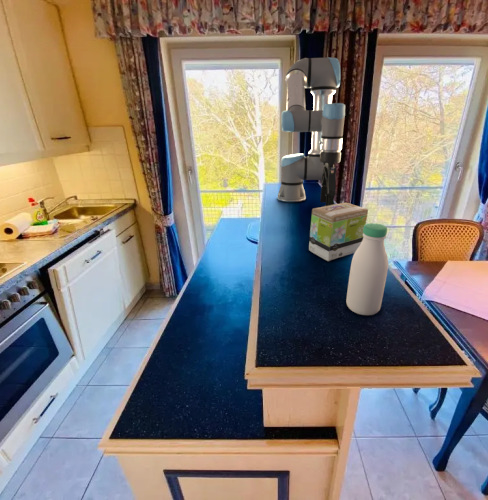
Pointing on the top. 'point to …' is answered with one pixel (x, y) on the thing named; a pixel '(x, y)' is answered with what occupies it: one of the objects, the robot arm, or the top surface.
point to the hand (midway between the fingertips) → (326, 207)
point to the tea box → (336, 230)
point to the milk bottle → (368, 272)
